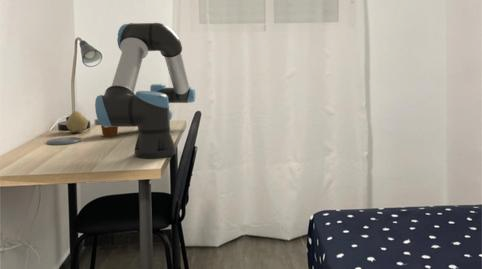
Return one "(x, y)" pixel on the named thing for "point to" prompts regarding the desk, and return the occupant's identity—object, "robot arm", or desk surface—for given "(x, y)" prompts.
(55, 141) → the saucer
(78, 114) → the tan rounded lump
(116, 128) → the disposable coffee cup
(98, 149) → the desk surface
